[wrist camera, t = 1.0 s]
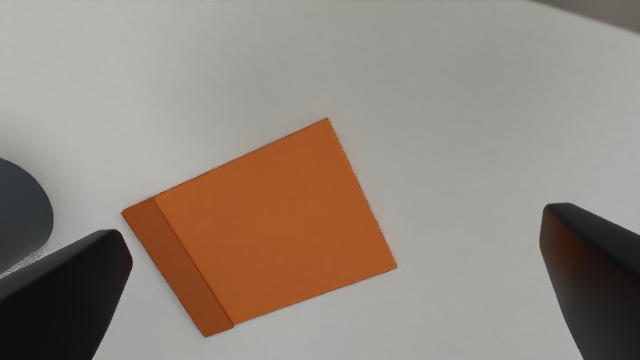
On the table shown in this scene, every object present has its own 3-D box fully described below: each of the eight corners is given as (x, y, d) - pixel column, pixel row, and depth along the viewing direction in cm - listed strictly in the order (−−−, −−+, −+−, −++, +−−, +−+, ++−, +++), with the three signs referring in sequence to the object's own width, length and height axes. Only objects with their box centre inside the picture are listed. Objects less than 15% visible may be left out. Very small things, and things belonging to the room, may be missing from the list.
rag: (396, 264, 25) (397, 270, 25) (205, 332, 28) (201, 339, 28) (327, 117, 22) (326, 120, 22) (123, 210, 25) (117, 214, 25)
